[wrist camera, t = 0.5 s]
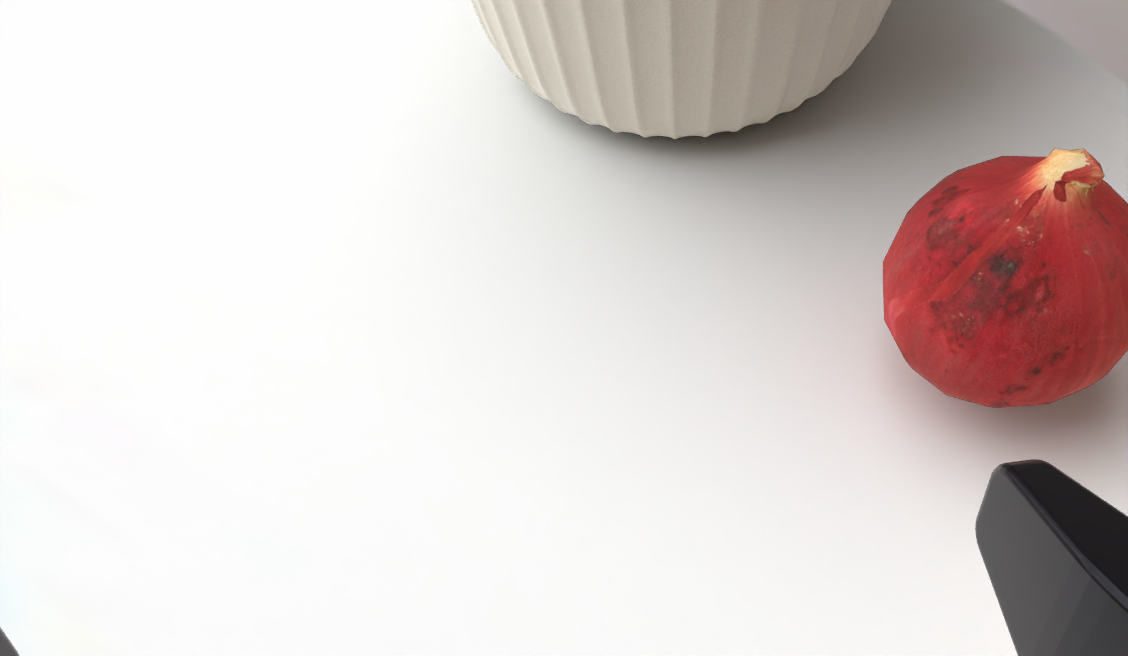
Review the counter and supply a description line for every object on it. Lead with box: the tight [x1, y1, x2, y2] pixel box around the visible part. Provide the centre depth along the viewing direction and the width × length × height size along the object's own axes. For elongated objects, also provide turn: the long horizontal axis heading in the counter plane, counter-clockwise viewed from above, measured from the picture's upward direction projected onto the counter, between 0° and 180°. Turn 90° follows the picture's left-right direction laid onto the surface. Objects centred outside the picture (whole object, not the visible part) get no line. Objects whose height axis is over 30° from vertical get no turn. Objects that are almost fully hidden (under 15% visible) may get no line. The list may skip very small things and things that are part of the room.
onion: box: [883, 149, 1128, 408], centre depth 24 cm, size 6×6×8 cm
